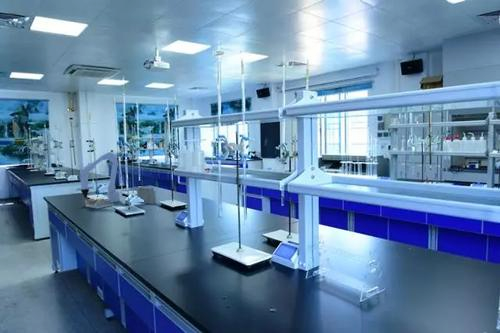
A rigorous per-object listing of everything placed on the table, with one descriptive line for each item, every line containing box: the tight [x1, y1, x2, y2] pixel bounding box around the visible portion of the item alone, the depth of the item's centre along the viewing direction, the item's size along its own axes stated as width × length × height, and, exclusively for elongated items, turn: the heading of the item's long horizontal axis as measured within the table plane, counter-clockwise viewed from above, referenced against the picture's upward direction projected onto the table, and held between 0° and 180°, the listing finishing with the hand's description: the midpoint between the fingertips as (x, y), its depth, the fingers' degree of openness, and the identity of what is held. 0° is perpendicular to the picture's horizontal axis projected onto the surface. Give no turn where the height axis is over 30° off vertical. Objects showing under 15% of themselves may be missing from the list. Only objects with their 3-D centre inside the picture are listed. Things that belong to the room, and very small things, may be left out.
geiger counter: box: [134, 185, 157, 205], centre depth 298 cm, size 14×6×25 cm
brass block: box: [95, 197, 105, 202], centre depth 287 cm, size 4×5×5 cm
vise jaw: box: [84, 198, 96, 204], centre depth 293 cm, size 12×9×3 cm
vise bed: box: [85, 199, 114, 209], centre depth 288 cm, size 14×16×5 cm
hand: (85, 197), depth 298 cm, fingers closed
